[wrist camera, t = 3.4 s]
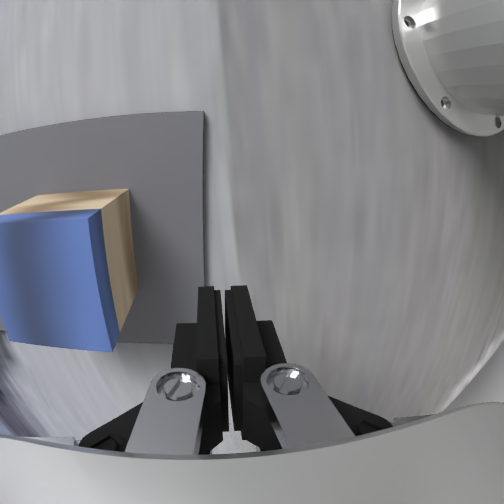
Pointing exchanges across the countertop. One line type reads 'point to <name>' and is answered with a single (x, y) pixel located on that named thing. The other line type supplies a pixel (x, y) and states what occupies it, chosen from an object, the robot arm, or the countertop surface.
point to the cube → (67, 269)
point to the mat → (141, 200)
